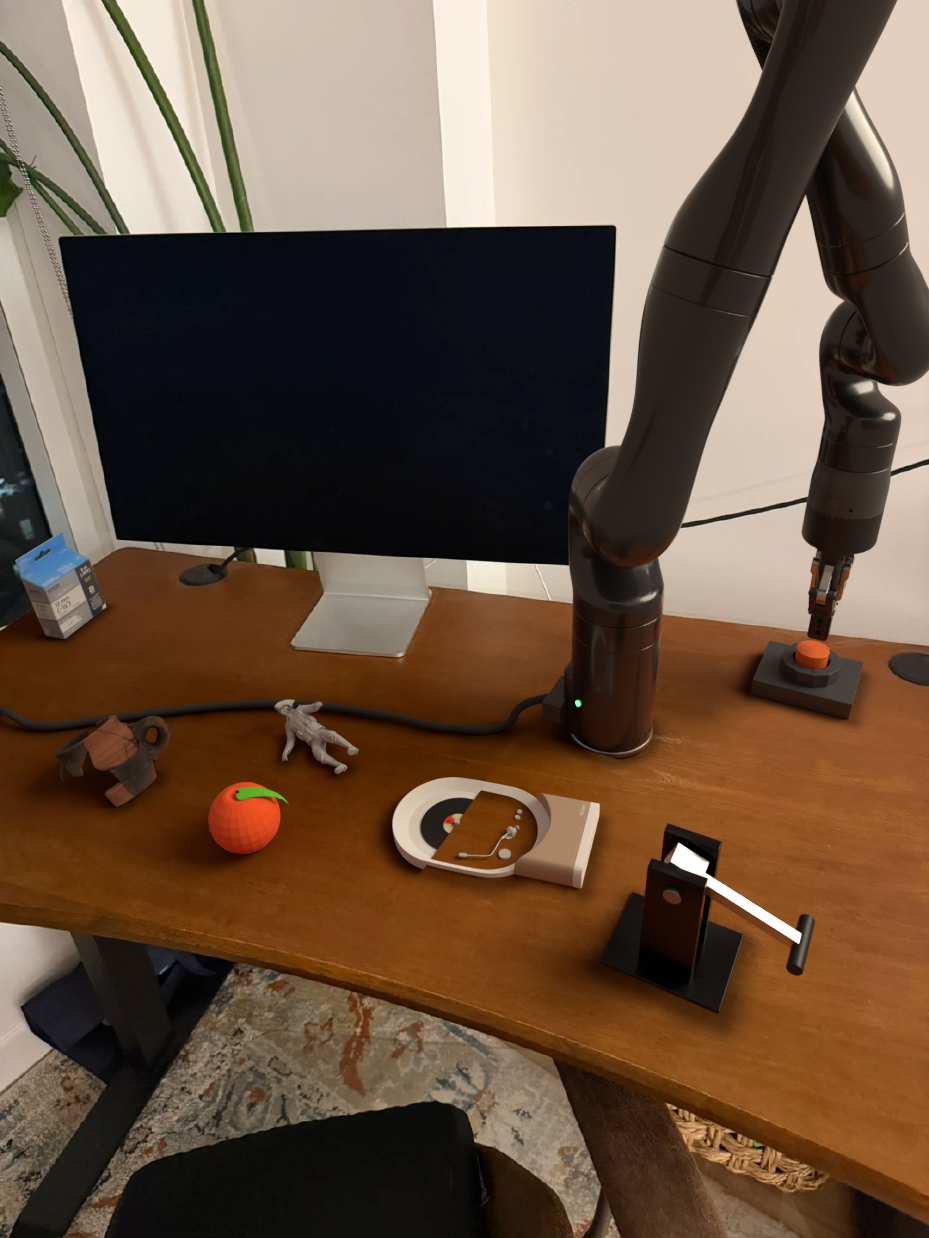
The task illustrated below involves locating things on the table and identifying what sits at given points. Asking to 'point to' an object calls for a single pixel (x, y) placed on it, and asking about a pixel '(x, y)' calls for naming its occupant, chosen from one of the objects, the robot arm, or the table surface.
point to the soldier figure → (311, 733)
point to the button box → (807, 681)
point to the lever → (750, 909)
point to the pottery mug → (118, 754)
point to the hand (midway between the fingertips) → (817, 636)
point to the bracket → (676, 928)
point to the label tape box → (60, 587)
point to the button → (812, 654)
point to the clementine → (244, 817)
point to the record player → (551, 858)
